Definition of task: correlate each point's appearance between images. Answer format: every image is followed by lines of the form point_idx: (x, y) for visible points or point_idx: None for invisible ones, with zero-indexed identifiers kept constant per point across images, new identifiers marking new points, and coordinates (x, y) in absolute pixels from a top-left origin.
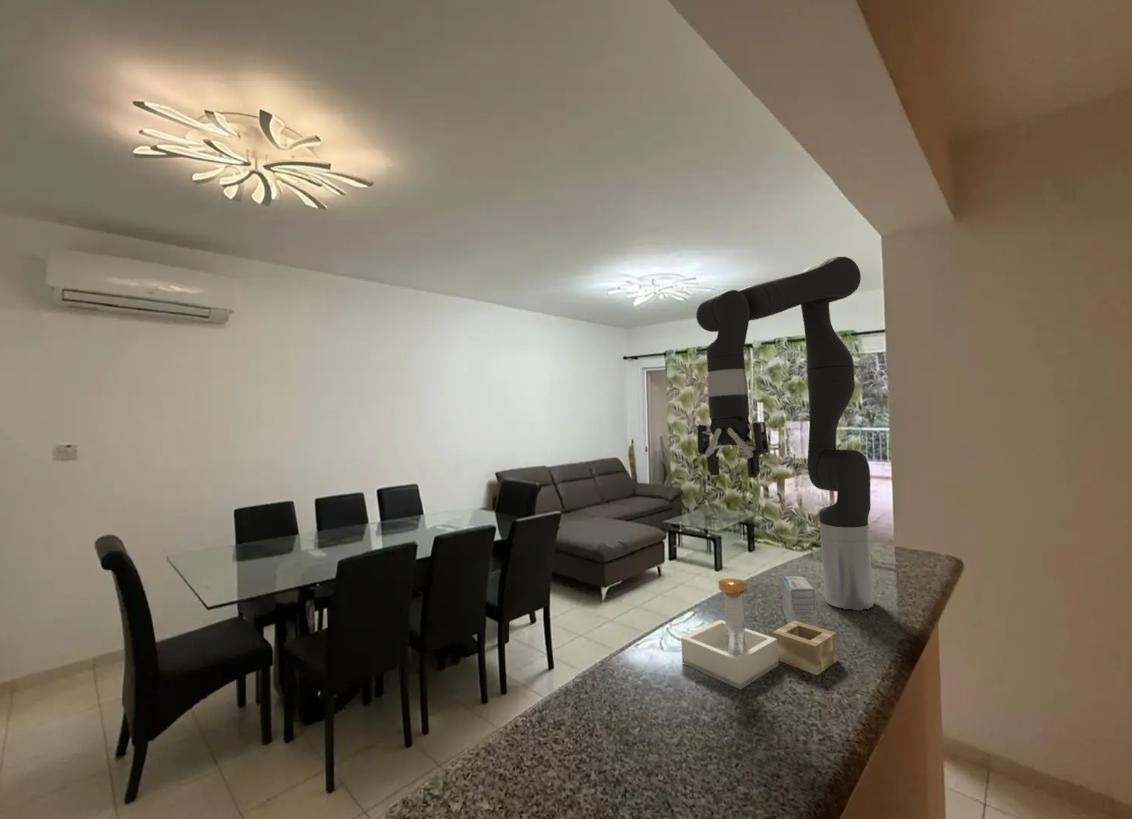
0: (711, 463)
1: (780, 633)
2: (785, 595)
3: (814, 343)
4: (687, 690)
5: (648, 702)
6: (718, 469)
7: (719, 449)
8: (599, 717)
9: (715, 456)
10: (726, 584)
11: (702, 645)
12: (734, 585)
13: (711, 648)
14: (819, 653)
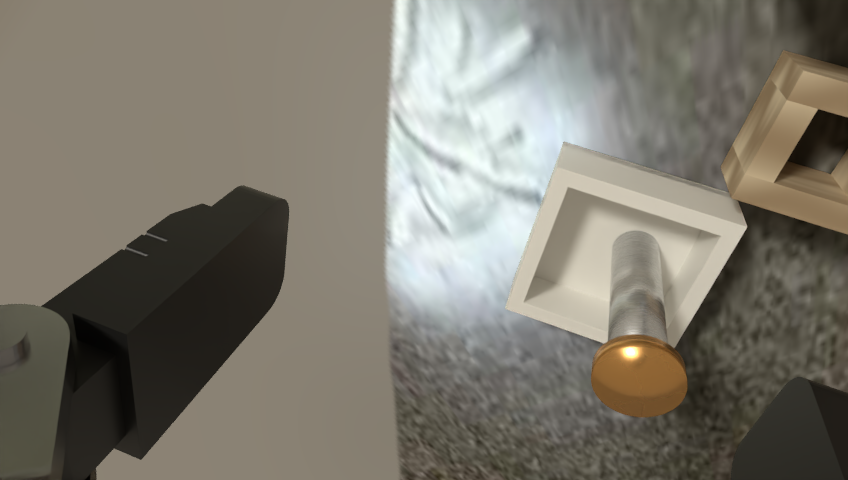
0: (188, 388)
1: (757, 198)
2: None
3: None
4: (564, 358)
5: (518, 406)
6: (255, 235)
7: (53, 464)
8: (473, 454)
9: (112, 375)
10: (623, 402)
11: (565, 326)
12: (650, 403)
13: (590, 333)
14: None
